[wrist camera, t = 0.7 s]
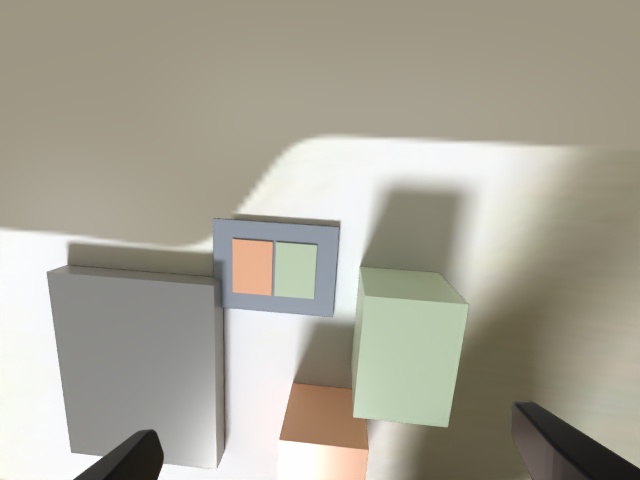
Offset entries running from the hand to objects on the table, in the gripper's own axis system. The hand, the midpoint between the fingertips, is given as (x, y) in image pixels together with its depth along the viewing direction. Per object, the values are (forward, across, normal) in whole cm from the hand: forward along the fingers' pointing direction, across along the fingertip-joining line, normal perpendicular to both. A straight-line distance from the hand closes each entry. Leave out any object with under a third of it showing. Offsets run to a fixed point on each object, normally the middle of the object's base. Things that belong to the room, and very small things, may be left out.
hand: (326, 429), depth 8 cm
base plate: (+13, +14, +6) cm, 20 cm away
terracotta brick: (+12, +2, +12) cm, 18 cm away
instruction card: (+13, +4, 0) cm, 13 cm away
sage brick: (+13, -3, +4) cm, 14 cm away
